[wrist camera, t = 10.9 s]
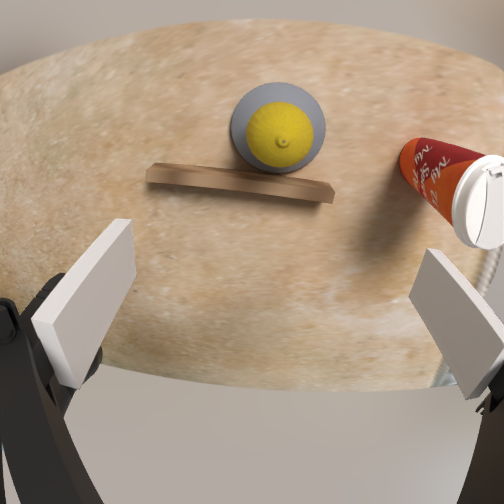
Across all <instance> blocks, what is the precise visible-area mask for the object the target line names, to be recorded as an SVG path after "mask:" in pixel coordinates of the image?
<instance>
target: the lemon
mask: <svg viewBox="0 0 504 504" xmlns="http://www.w3.org/2000/svg"><path fill="white" fill-rule="evenodd" d="M246 139H247V143H248V146H249V148H250V150H251V152H252V153H253V154H254V155H255V157H256V158H257V159H258V160H260V161H261V162H263V163H264V164H267V165H269V166H272V167H280V168H282V167H289V166H292V165H295V164H297V163H298V162H300V161H301V160H303V159H304V158H305V156H306V155H307V154H308V153H309V151H310V149H311V147H312V143H313V139H314V136H313V127H312V124H311V121H310V120H309V118H308V117H307V115H306V114H305V113H304V112H303V111H302V110H301V109H300V108H298V107H297V106H295V105H293V104H290V103H286V102H272V103H268V104H265V105H264V106H262V107H260V108H259V109H257V110H256V111H255V112H254V113H253V115H252V116H251V118H250V119H249V121H248V125H247V128H246Z"/></svg>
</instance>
